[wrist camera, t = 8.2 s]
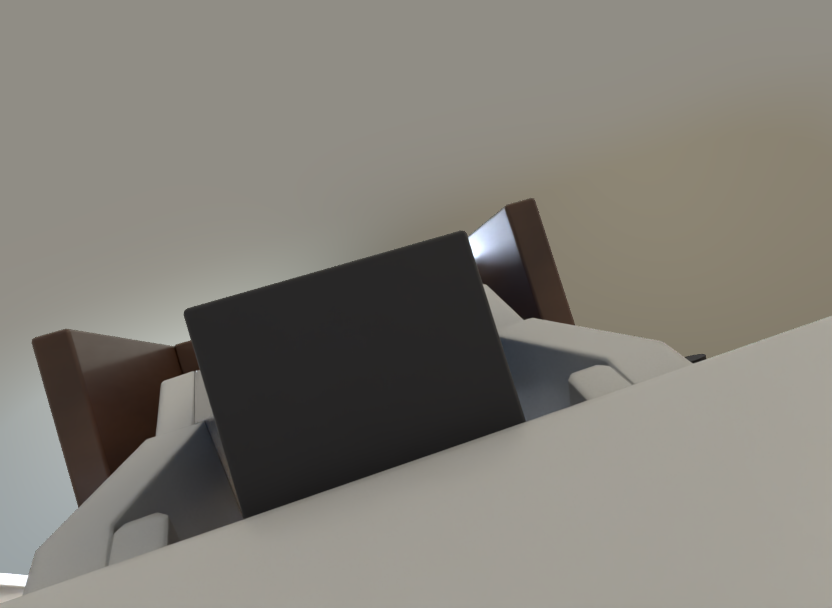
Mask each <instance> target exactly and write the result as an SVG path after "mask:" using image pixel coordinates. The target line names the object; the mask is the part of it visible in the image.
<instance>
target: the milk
mask: <svg viewBox="0 0 832 608" xmlns="http://www.w3.org/2000/svg"><path fill="white" fill-rule="evenodd" d="M27 578H28V575H17V574H5V573H0V603H3V602H6V601H9V600H12V599H15V598H18V597H20V596H22V595H23V591H24V588H25V585H26V581H27Z"/></svg>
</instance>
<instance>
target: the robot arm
mask: <svg viewBox="0 0 832 608" xmlns="http://www.w3.org/2000/svg"><path fill="white" fill-rule="evenodd" d="M483 286H484V289H485V293H486V296H487V299H488V302H489V305H490V309H491V312H492V315H493V318H494V321H495V324H496V328H497V331H498V334H499V337H500V340H501V343H502V347H503V350H504V353H505V356H506V359H507V362H508V366H509V369H510V372H511V375H512V378H513V381H514V385H515V388H516V391H517V394H518V397H519V400H520V404H521V407H522V410H523V413H524V416H525V420H526V422H524V423H521V424H518V425H515V426H512V427H509V428H506V429H504V430H501V431H498V432H495V433H492V434H489V435H486V436H483V437H480V438H478V439H475V440H472V441H469V442H466V443H463V444H460V445H457V446H454V447H452V448H449V449H446V450H443V451H440V452H437V453H434V454H431V455H428V456H425V457H423V458H420V459H417V460H414V461H411V462H408V463H405V464H402V465H399V466H397V467H394V468H391V469H388V470H385V471H382V472H379V473H376V474H373V475H370V476H368V477H365V478H362V479H359V480H356V481H353V482H350V483H347V484H344V485H342V486H339V487H336V488H333V489H330V490H327V491H324V492H321V493H318V494H315V495H313V496H310V497H307V498H304V499H301V500H298V501H295V502H292V503H289V504H287V505H284V506H281V507H278V508H275V509H272V510H269V511H266V512H263V513H260V514H258V515H255V516H252V517H249V518H246V519H244V518H243V515H242V511H241V508H240V504H239V501H238V498H237V494H236V491H235V487H234V484H233V481H232V477H231V474H230V471H229V467H228V464H227V460H226V457H225V454H224V450H223V447H222V443H221V440H220V437H219V433H218V430H217V426H216V423H215V420H214V416H213V413H212V409H211V406H210V403H209V399H208V396H207V392H206V389H205V386H204V382H203V379H202V375H201V372H200V370H198V371H196V372H194V371H192V372H189V373H186V374H183V375H180V376H177V377H174V378H171V379H168V380H165V381H163V382H162V383H161V387H160V398H159V408H158V418H157V428H156V436H155V437H152V438H149V439H146V440H145V441H144V442H143V443H142V444H141V445H140V446H139V447H138V448H137V449H136V450H135V451H134V452H133V453H132V454H131V455H130V456H129V457H128V458H127V459H126V460H125V461H124V462H123V463H122V464H121V465H120V466H119V467H118V468H117V470H116V471H115V472H114V473H113V474H112V475H111V476H110V477H109V478H108V479H107V480H106V481H105V482H104V483H103V484H102V485H101V486H100V487H99V488H98V489H97V490H96V491H95V492H94V493H93V494H92V495H91V496H90V497H89V498H88V499H87V500H86V501H85V502H84V503H83V504H82V505H81V506H80V507H79V508H78V509H77V510H76V511H75V512H74V513H73V514H72V515H71V516H70V517H69V518H68V519H67V520H66V521H65V522H64V523H63V524H62V525H61V526H60V527H59V528H58V529H57V530H56V531H55V532H54V533H53V534H52V535H51V536H50V537H49V538H48V539H47V540H46V541H45V542H44V543H43V544H42V545H41V546H40V547H39V548H38V549H37V550H36V551H35V555H34V558H33V562H32V565H31V568H30V571H29V575H28V578H27V581H26V585H25V588H24V591H23V595H22V596H20V597H18V598H15V599H12V600H9V601H6V602H3V603H0V608H832V316H830V317H827V318H824V319H821V320H818V321H816V322H813V323H810V324H807V325H804V326H801V327H798V328H795V329H792V330H789V331H787V332H784V333H781V334H778V335H775V336H772V337H769V338H766V339H763V340H761V341H758V342H755V343H752V344H749V345H746V346H743V347H741V348H738V349H735V350H732V351H729V352H726V353H723V354H720V355H717V356H714V357H712V358H709V359H706V360H703V361H700V362H697V363H694V364H693V363H692V362H690V361H689V360H687V359H686V358H685V357H683V356H682V355H681V354H679V353H678V352H676V351H675V350H674V349H672V348H671V347H670V346H668V345H667V344H665V343H664V342H662V341H658V340H652V339H647V338H641V337H635V336H629V335H624V334H618V333H613V332H607V331H602V330H597V329H591V328H586V327H580V326H575V325H569V324H564V323H558V322H553V321H547V320H542V319H536V318H530V319H526V320H523V319H522V318H521V317H520V316H519V315H518V314H517V313H516V312H515V311H514V310H513V309H512V308H511V307H509V306H508V305H507V304H506V303H505V302H504V301H503V300H502V299H501V298H500V297H499V296H498V295H497V294H496V293H495V292H494V291H493V290H492V289H490V288H489V287H488V286H487V285H485V284H483Z"/></svg>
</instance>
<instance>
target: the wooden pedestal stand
mask: <svg viewBox="0 0 832 608" xmlns="http://www.w3.org/2000/svg"><path fill="white" fill-rule="evenodd" d="M468 239H469V242H470V245H471V248H472V251H473V255H474V258H475V261H476V264H477V267H478V270H479V274H480V277H481V280H482V283H483V284H485V285H487V286H488V287H489V288H490V289H492V290H493V291H494V292H495V293H496V294H497V295H498V296H499V297H500V298H501V299H502V300H503V301H504V302H505V303H506V304H507V305H508V306H509V307H511V308H512V309H513V310H514V311H515V312H516V313H517V314H518V315H519V316H520V317H521V318H522V319H523V320H526V319H530V318H536V319H542V320H547V321H553V322H558V323H564V324H569V325H575V324H574V320H573V317H572V314H571V311H570V308H569V305H568V302H567V299H566V296H565V292H564V289H563V286H562V283H561V280H560V277H559V274H558V271H557V268H556V265H555V262H554V258H553V255H552V252H551V249H550V246H549V243H548V239H547V236H546V233H545V230H544V227H543V224H542V221H541V218H540V215H539V211H538V208H537V206H536V202H535V200H534V198H529V199H526V200H522V201H518V202H515V203H511V204H508V205H506V206H505V207H503V208H502V209H501V210H500V211H499V212H497V213H496V214H495V215H494V216H492V217H491V218H490V219H489V220H488V221H486V222H485V223H484V224H483V225H482V226H480V227H479V228H478V229H477V230H475V231H474V232H473V233H472V234H470V235H469V236H468ZM32 345H33V349H34V353H35V356H36V359H37V363H38V367H39V370H40V374H41V377H42V381H43V384H44V388H45V391H46V395H47V398H48V402H49V405H50V409H51V412H52V416H53V419H54V423H55V426H56V430H57V433H58V437H59V441H60V444H61V448H62V451H63V455H64V458H65V462H66V465H67V469H68V472H69V476H70V479H71V482H72V486H73V490H74V493H75V497H76V501H77V504H78V508H79V507H80V506H81V505H82V504H83V503H84V502H85V501H86V500H87V499H88V498H89V497H90V496H91V495H92V494H93V493H94V492H95V491H96V490H97V489H98V488H99V487H100V486H101V485H102V484H103V483H104V482H105V481H106V480H107V479H108V478H109V477H110V476H111V475H112V474H113V473H114V472H115V471H116V470H117V468H118V467H119V466H120V465H121V464H122V463H123V462H124V461H125V460H126V459H127V458H128V457H129V456H130V455H131V454H132V453H133V452H134V451H135V450H136V449H137V448H138V447H139V446H140V445H141V444H142V443H143V442H144V441H145V440H146V439H149V438H152V437H155V436H156V428H157V418H158V408H159V398H160V387H161V383H162V382H163V381H165V380H168V379H171V378H174V377H177V376H180V375H183V374H186V373H189V372H192V371H194V372H196V371H198V370H200V369H199V365H198V362H197V358H196V355H195V352H194V348H193V345H192V341H191V340H190V341H188V342H184V343H180V344H177V345H175V346H168V345H162V344H156V343H150V342H144V341H138V340H131V339H125V338H120V337H113V336H107V335H101V334H95V333H89V332H83V331H77V330H71V329H63V330H60V331H56V332H52V333H49V334H45V335H42V336H38V337H35V338H34V339H32Z"/></svg>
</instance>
